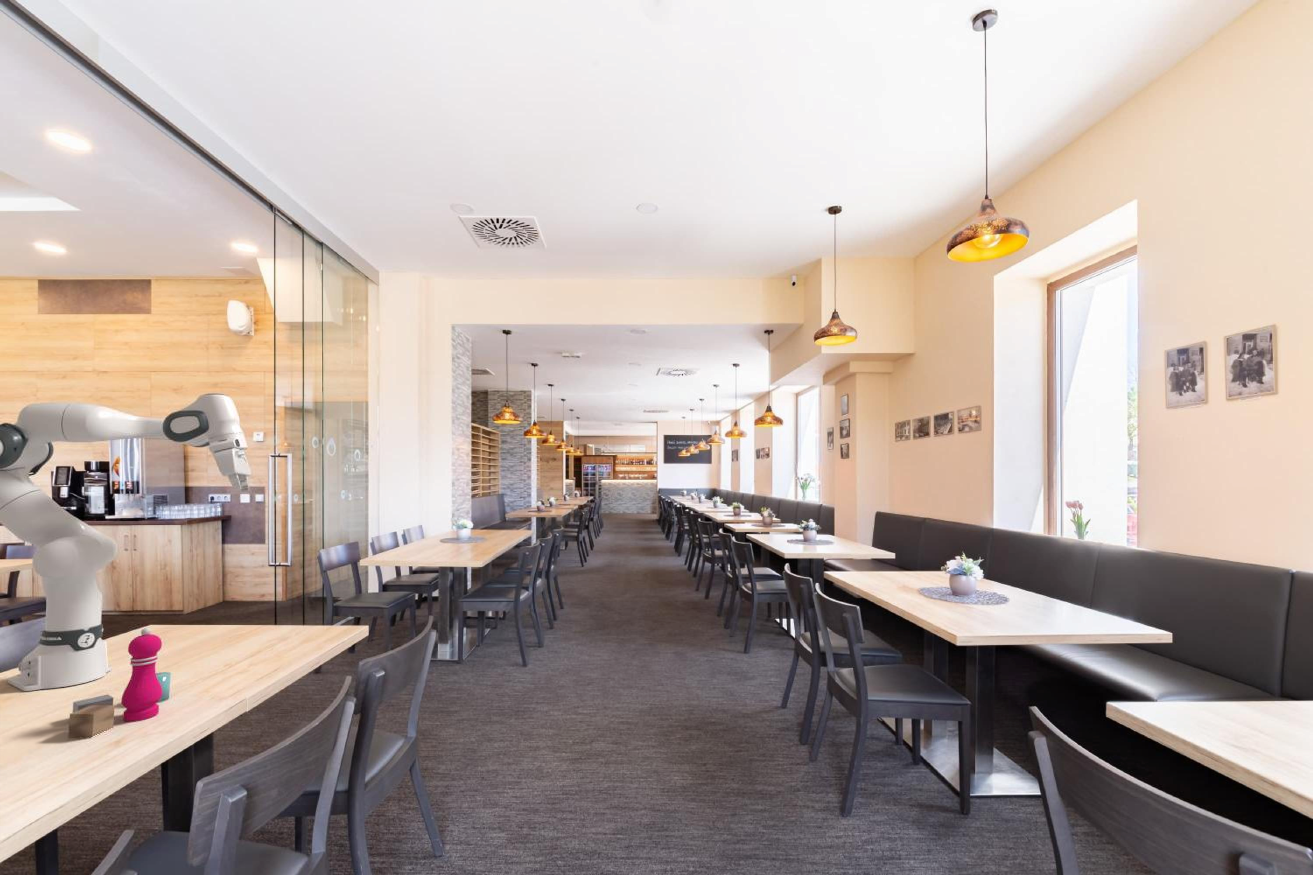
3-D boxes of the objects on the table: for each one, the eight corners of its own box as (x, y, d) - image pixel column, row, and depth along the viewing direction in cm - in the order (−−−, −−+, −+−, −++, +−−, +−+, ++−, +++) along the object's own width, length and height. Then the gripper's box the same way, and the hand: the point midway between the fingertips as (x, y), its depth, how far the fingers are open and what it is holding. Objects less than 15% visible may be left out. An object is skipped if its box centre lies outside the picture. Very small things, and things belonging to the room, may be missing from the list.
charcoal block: (72, 719, 137) (73, 701, 137) (106, 711, 142) (107, 694, 142) (77, 724, 135) (78, 705, 135) (112, 715, 140) (113, 697, 140)
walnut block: (68, 738, 127) (69, 713, 128) (90, 728, 132) (91, 705, 133) (92, 738, 128) (93, 713, 128) (113, 728, 132) (114, 704, 133)
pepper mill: (168, 712, 141) (173, 625, 142) (133, 724, 134) (138, 632, 136) (148, 708, 144) (153, 623, 145) (112, 720, 137) (118, 630, 138)
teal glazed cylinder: (138, 702, 148) (139, 677, 148) (160, 695, 152) (161, 671, 153) (151, 704, 146) (153, 679, 146) (174, 697, 151) (175, 673, 151)
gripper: (226, 451, 187) (238, 494, 188) (206, 446, 169) (220, 493, 169) (249, 446, 190) (261, 488, 190) (232, 440, 171) (246, 486, 171)
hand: (242, 490), depth 179 cm, fingers open, 8 cm apart
